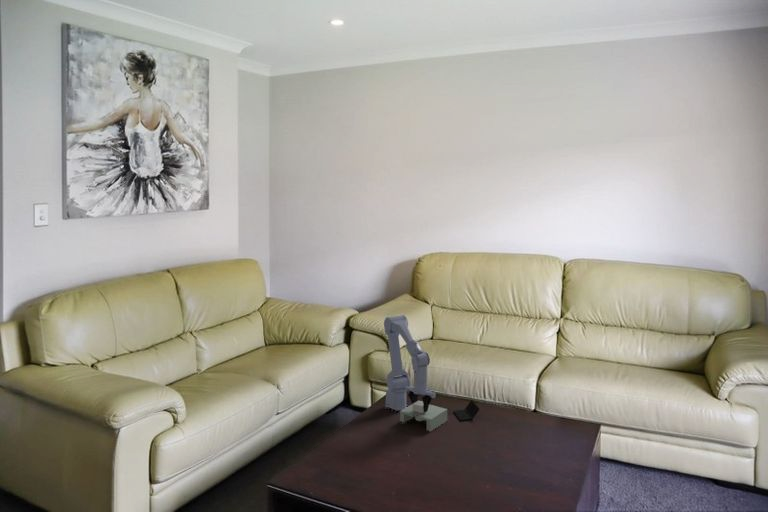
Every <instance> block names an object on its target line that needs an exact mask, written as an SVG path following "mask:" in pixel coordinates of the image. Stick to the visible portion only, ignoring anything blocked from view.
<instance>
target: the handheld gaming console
mask: <svg viewBox="0 0 768 512" xmlns="http://www.w3.org/2000/svg"><path fill="white" fill-rule="evenodd" d="M479 411H480V407H478V405H477V404H476V403H475V401H473V400H470V401H469V402H468V404H467V405H466V407H465V408H464V409H459V410H458V409H457V410H453V411H452V412H454V413H453V415H454V416H455V417H456V416H457V417H456V418H457V419H458V420H459V422H471V420H472V421H473V419H474V418H475V417H476V415H477V413H478V412H479Z"/></svg>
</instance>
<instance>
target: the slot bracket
mask: <svg viewBox="0 0 768 512" xmlns="http://www.w3.org/2000/svg"><path fill="white" fill-rule="evenodd" d="M407 406H408V407H406V408H404V409H403V410H401V411H400V412H399V422H400V421H402V422H405V421H407V420H409V419H410V418H412V417H414V416H416V415H417V414H418V412H416V411H413V405H412V404H410V405H407ZM418 418H419V419H423V420H424V421H426V431H427V430H429V431H428V432H430V431H431V432H432V431H434V430H435V428H436V429H437V428H439V427H440V426H442V425H443V424H445V423H447V422H448V408H444V407H440V406H437V405H433V404H431V403H430V404H429V407H428V411H427V412H423V413H422V414H420V415H419V416H418ZM409 421H410V420H409ZM446 421H447V422H446ZM441 424H442V425H441ZM438 426H439V427H438ZM433 429H434V430H433Z"/></svg>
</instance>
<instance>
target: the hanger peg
mask: <svg viewBox="0 0 768 512" xmlns="http://www.w3.org/2000/svg"><path fill="white" fill-rule="evenodd" d="M413 411H416V412H418V415H417V416H415V418H414V419H415V420H416V421H417V422H424V421H425V420H423V419H419V418H418V416H419V415H420V414H422V413H424V405H423V400H417V402H415V403H413Z"/></svg>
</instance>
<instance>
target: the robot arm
mask: <svg viewBox="0 0 768 512" xmlns="http://www.w3.org/2000/svg"><path fill="white" fill-rule="evenodd" d="M383 327H384V333H385V335H386V336H387V341H388V342H387V343H388V348H389V350H388V351H389V356H390V365H391V370H390V372H389V373H388V374H387V376H386V380H387V381H386V386H387V390H386V393H385V407H390V408H392V409H395V410H403V409H404V408H406V406H407V396H408V398H409V399H410V401H411V405H413V403H415V402H417V401H419V400H418V398H419V395H422V396H423V397H421V399H422V400H421V401H423V405H424V412H427V411H428V407H429V404H430V405H431V401H432V399H434V398H437V397H436V395H437V393H436V392H435V391H432V390H430V389H428V366H429V365H430V362H431V360H430V355H429V353H428V352H427V351H424V350H423V349H422V347H421V345H420V343H419V342H418V340H416V339H414V338H413V336H412V334H411V332H410V330H409V328H408V327H409V319H408V318H407V317H406V315H404V314H402V315H397V316H386V318H385V319H384V322H383ZM399 336H401V338H402V339H403V340H404V343H405V344H406V345H405V348H406V350H407V352H408V354H409V355H410V357H411V359H410V360H411V361H410V362H411V365H412V370H413V386H411V379H410V377H409V376H410V375H409V372H407V371H406V370H405V369H403V360H402V354H401V346H400V337H399ZM407 392H409V393H408V395H407ZM424 412H423V413H424Z"/></svg>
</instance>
